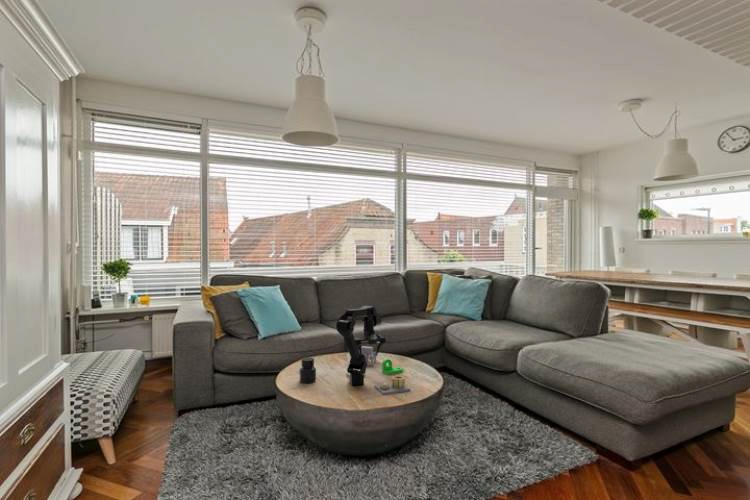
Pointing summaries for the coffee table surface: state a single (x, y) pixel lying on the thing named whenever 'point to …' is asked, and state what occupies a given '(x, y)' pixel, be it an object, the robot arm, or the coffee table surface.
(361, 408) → the coffee table surface
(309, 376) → the ink bottle
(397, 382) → the gear
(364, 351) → the toy sheep
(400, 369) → the mechanical part
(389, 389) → the carrier board
